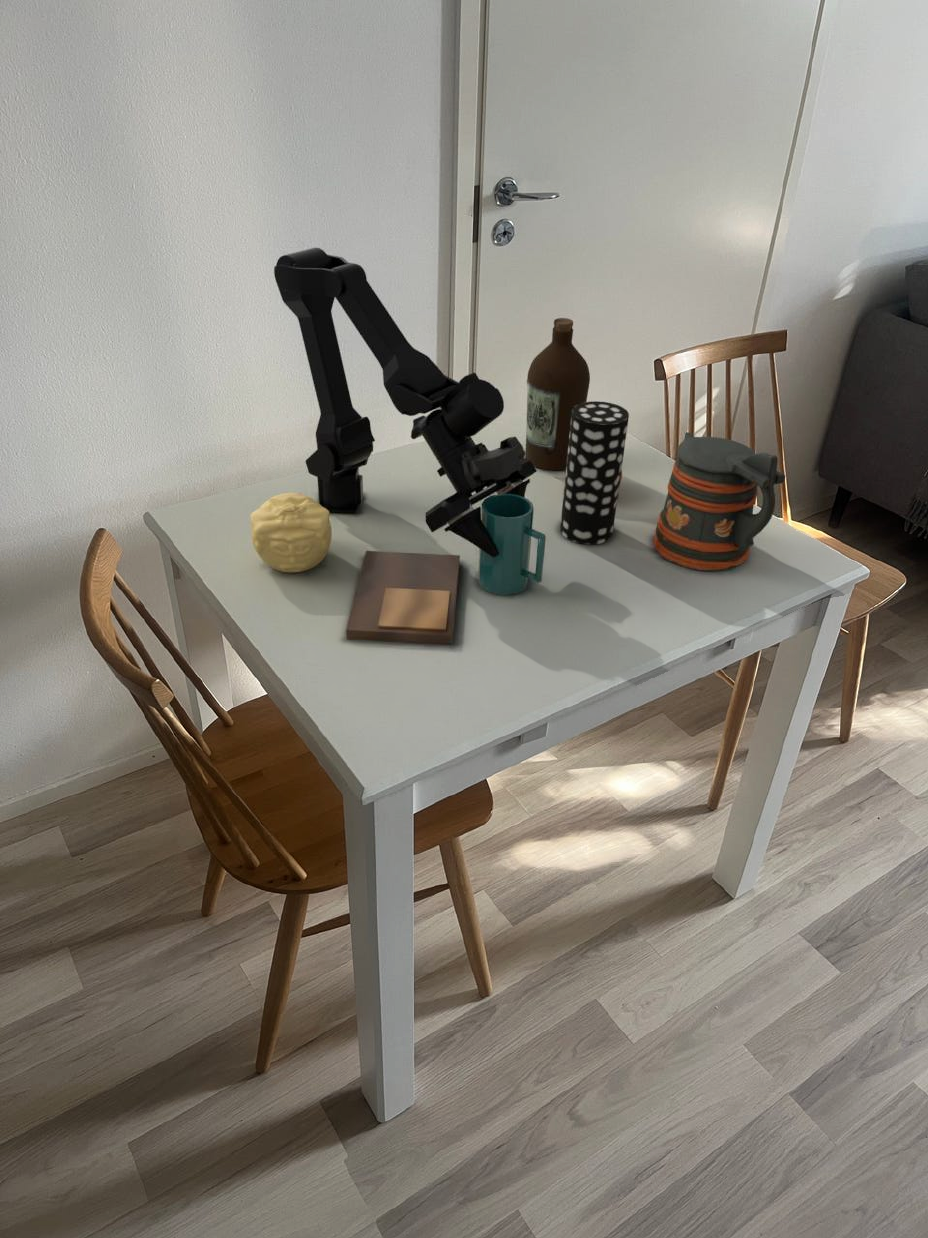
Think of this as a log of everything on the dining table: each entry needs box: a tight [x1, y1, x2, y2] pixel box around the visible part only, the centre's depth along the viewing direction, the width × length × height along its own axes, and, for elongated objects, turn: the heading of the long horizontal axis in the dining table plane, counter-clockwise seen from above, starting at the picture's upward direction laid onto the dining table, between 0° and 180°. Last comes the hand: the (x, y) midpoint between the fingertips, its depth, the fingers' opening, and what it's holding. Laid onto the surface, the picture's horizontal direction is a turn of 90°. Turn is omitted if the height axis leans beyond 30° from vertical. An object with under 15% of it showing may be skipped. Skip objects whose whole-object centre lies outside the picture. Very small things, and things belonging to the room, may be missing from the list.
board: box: [345, 550, 461, 645], centre depth 135 cm, size 14×20×2 cm
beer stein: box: [653, 431, 786, 572], centre depth 142 cm, size 19×15×20 cm
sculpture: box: [249, 492, 333, 573], centre depth 140 cm, size 12×12×11 cm
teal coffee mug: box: [477, 493, 547, 596], centre depth 136 cm, size 10×7×12 cm
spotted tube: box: [559, 400, 630, 545], centre depth 147 cm, size 8×8×20 cm
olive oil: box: [524, 317, 591, 471], centre depth 166 cm, size 11×11×25 cm
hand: (512, 545), depth 136 cm, fingers closed on teal coffee mug, 7 cm apart
